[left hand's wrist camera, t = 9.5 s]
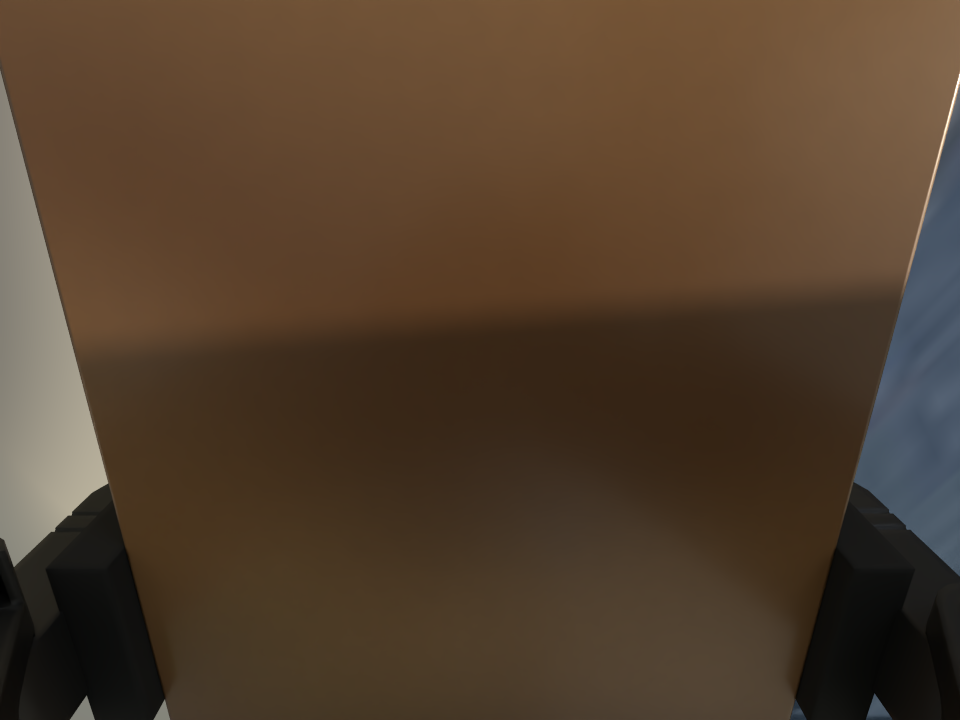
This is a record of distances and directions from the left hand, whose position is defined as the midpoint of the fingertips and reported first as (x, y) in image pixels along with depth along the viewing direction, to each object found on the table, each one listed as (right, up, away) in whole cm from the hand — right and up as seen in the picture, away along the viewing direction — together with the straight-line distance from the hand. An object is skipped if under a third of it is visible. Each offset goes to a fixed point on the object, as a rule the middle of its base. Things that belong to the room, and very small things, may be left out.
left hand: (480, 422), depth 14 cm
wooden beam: (0, -26, +11) cm, 28 cm away
